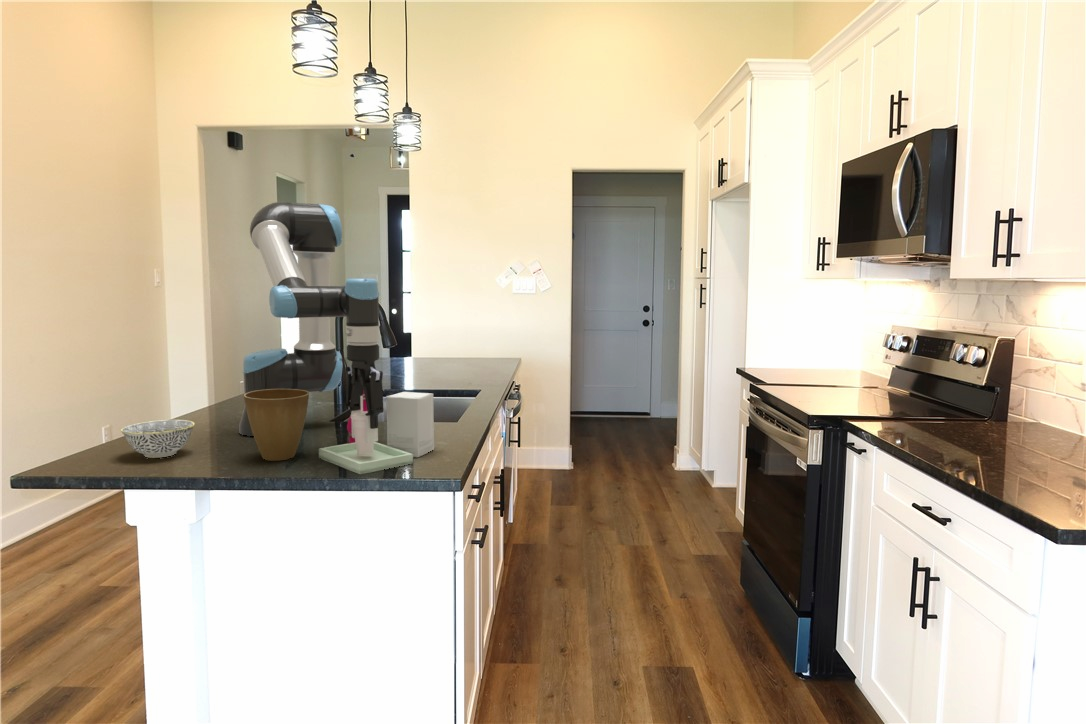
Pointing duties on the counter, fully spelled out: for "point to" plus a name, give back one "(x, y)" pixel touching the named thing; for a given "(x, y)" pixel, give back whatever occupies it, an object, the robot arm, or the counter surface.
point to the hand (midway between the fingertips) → (364, 438)
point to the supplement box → (410, 422)
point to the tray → (365, 457)
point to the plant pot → (277, 420)
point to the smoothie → (361, 432)
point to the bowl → (158, 436)
